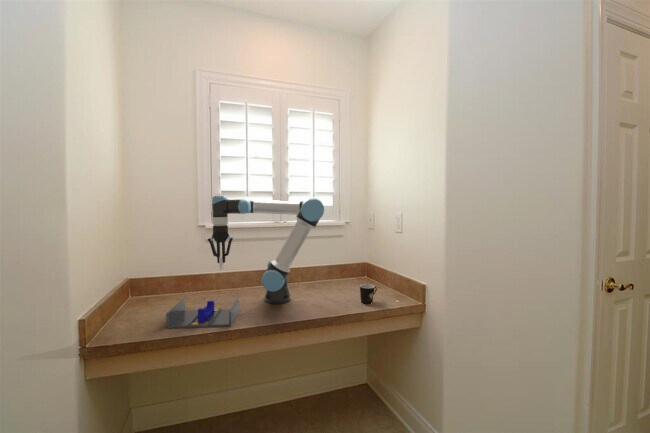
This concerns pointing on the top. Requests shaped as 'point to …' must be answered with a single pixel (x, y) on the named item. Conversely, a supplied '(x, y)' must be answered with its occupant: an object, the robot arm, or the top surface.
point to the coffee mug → (367, 293)
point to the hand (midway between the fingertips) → (221, 268)
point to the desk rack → (190, 317)
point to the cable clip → (206, 311)
